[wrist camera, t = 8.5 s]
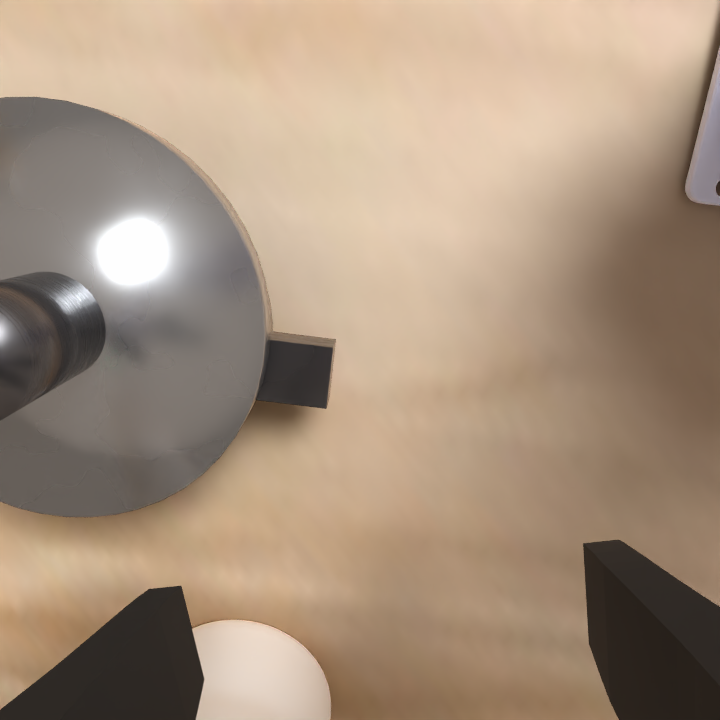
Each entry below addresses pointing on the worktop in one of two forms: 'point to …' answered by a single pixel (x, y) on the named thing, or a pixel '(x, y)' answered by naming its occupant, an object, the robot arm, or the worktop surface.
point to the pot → (298, 369)
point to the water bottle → (258, 674)
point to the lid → (117, 313)
